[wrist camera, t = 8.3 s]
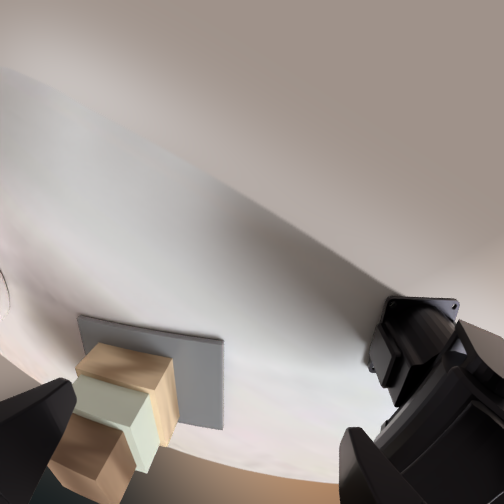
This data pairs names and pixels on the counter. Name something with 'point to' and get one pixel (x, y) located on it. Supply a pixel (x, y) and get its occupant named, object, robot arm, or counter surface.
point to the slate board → (184, 363)
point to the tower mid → (120, 415)
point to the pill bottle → (3, 299)
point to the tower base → (138, 380)
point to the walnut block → (93, 460)
